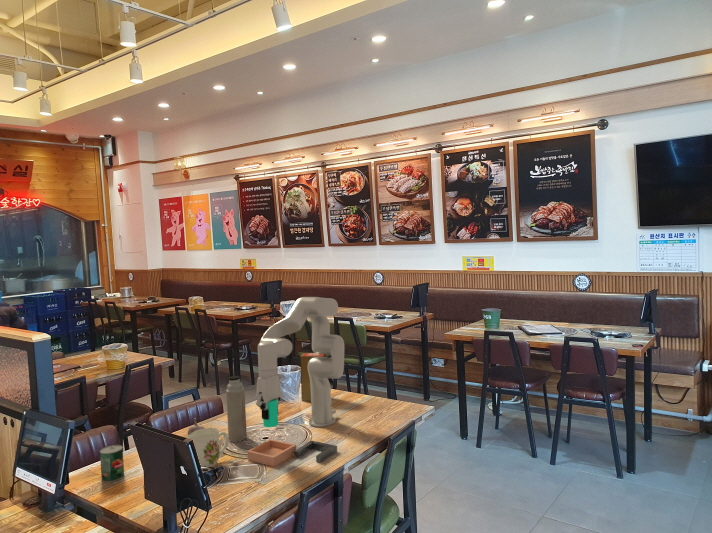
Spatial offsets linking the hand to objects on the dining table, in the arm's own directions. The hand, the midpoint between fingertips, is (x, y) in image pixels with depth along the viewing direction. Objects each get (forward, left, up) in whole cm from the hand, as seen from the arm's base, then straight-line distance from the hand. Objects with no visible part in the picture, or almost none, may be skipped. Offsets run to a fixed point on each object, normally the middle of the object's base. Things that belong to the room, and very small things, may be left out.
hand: (270, 416), depth 207 cm
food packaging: (-70, -29, -17) cm, 78 cm away
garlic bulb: (-3, -48, -17) cm, 51 cm away
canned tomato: (+42, -43, -17) cm, 62 cm away
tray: (0, 0, -17) cm, 17 cm away
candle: (0, 0, -4) cm, 4 cm away
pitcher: (+17, -18, -17) cm, 30 cm away
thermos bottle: (-8, -27, -17) cm, 33 cm away
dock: (-9, +15, -17) cm, 24 cm away
